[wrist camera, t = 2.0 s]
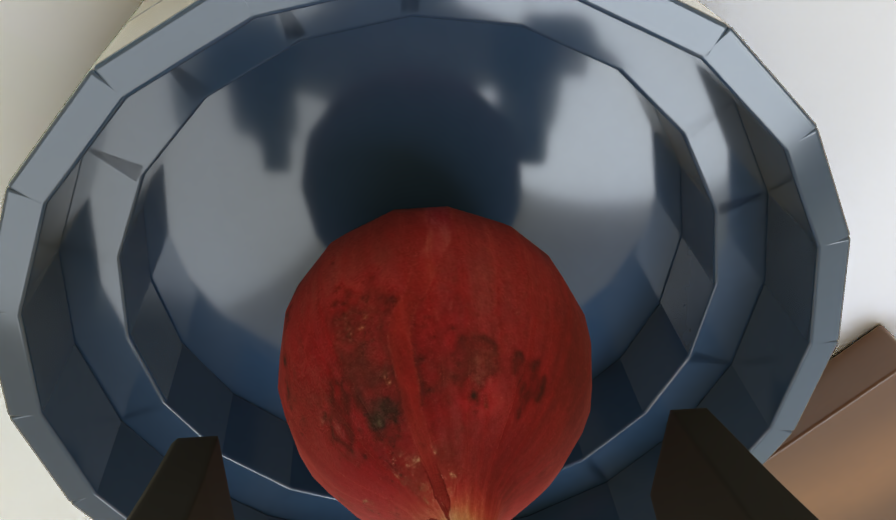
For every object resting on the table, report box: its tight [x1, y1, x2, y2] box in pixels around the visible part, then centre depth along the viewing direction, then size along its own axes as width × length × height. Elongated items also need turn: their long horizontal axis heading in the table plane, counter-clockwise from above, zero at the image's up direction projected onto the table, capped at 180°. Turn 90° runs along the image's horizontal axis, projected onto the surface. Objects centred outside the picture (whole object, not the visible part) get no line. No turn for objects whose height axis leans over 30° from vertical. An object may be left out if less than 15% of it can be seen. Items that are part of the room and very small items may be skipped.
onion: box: [278, 206, 592, 520], centre depth 15 cm, size 6×6×8 cm
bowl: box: [0, 0, 850, 520], centre depth 17 cm, size 15×15×4 cm
